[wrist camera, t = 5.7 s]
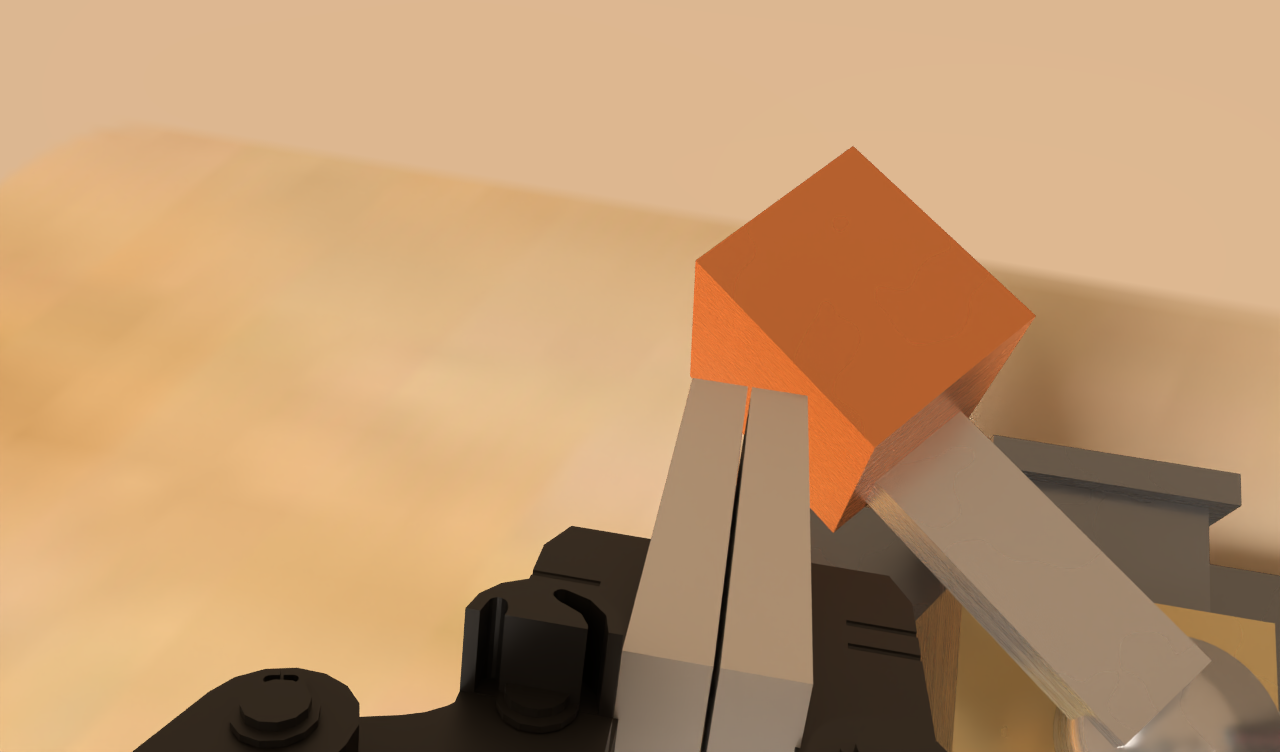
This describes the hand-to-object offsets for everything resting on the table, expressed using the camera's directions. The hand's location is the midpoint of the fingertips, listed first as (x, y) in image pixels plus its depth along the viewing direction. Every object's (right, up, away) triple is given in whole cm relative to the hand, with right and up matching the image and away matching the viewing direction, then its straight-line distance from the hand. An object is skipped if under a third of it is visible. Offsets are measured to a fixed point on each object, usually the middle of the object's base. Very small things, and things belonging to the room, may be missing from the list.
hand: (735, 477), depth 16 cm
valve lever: (+4, -2, +3) cm, 5 cm away
